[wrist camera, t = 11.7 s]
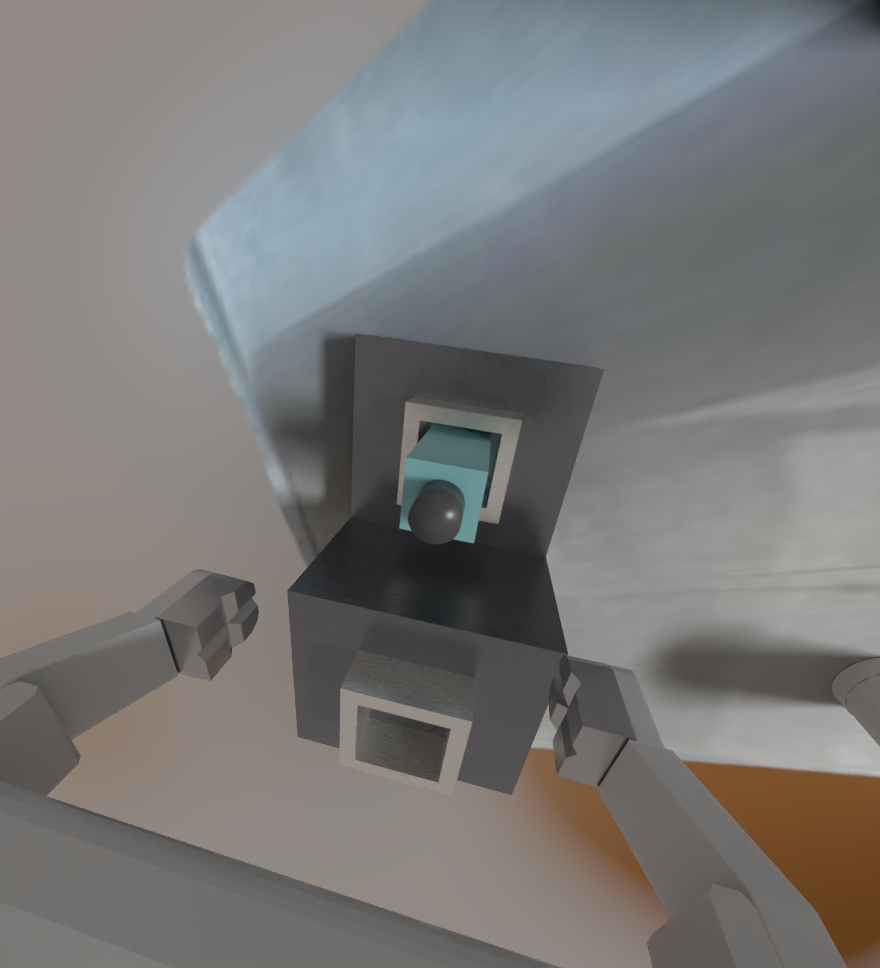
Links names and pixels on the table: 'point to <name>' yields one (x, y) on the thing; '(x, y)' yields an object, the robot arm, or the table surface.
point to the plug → (445, 484)
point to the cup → (861, 694)
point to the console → (441, 574)
